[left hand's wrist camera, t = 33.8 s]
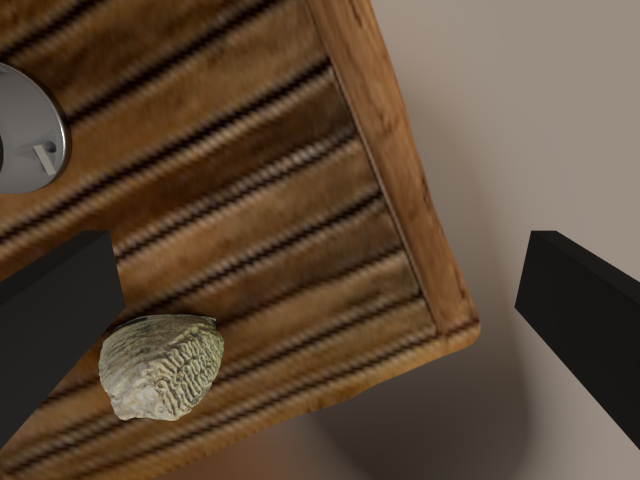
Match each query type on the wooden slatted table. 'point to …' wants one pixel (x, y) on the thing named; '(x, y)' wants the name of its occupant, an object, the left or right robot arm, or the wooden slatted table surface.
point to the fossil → (160, 365)
